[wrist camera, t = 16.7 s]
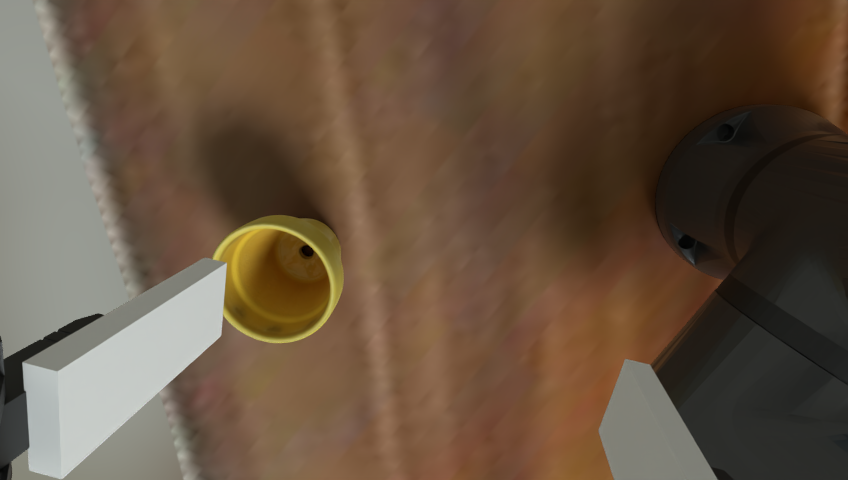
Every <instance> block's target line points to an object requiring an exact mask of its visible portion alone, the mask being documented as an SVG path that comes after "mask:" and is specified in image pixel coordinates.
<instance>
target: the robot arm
mask: <svg viewBox="0 0 848 480" xmlns="http://www.w3.org/2000/svg"><path fill="white" fill-rule="evenodd" d="M655 204H656V215H657V220H658V224H659V227H660V230H661V232H662V234H663V236H664V238H665V240H666V241H667V243H668V244H669V245H670V247H671V248H672V249H673V250H674V251H675V252H676V253H677V254H678V255H679V256H680V257H681V258H682V259H684V260H685V261H686V262H688V263H689V264H690V265H692V266H693V267H695V268H696V269H698V270H700V271H701V272H703V273H705V274H708V275H710V276H713V277H715V278H718V279H722V280H724V281H723V282H722V283H721V284H720V285H719V286H718V288H717V289H716V290H714V292H713V293H712V294H711V295H710V296H709V298H708V299H707V300H706V301H705V302H704V303H703V305H702V306H701V307H700V308H699V309H698V311H697V312H696V313H695V314H694V315H693V317H692V318H691V319H690V320H689V321H688V322H687V324H686V325H685V326H684V327H683V328H682V329H681V330H680V332H679V333H678V334H677V335H676V336H675V337H674V339H673V340H672V341H671V342H670V343H669V344H668V345H667V347H666V348H665V349H664V350H663V351H662V352H661V353H660V355H659V356H658V357H657V358H656V359H655V360H654V361H653V363H652V364H651V365H649V364H644V363H640V362H636V361H632V360H628V359H625V361H624V364H623V367H622V369H621V372H620V375H619V377H618V380H617V383H616V385H615V388H614V391H613V393H612V396H611V399H610V401H609V404H608V407H607V409H606V412H605V415H604V417H603V420H602V423H601V425H600V428H599V434H600V437H601V440H602V443H603V447H604V450H605V453H606V456H607V459H608V462H609V465H610V468H611V471H612V475H613V478H614V480H848V135H847V134H846V133H845V132H843V131H842V130H840V129H839V128H837V127H836V126H835V125H833V124H832V123H830V122H829V121H828V120H826V119H824V118H823V117H821V116H819V115H817V114H815V113H813V112H810V111H807V110H804V109H801V108H797V107H793V106H786V105H767V104H757V105H747V106H742V107H737V108H734V109H730V110H727V111H725V112H722V113H720V114H717V115H715V116H713V117H711V118H710V119H708V120H706V121H705V122H703V123H701V124H700V125H699V126H697V127H696V128H695V129H693V130H692V131H691V132H690V133H689V134H688V135H687V136H686V137H684V139H683V140H682V141H681V142H680V143H679V144H678V145H677V147H676V148H675V149H674V150H673V152H672V153H671V155H670V156H669V158H668V160H667V162H666V163H665V165H664V168H663V170H662V172H661V175H660V178H659V181H658V185H657V190H656V202H655ZM226 268H227V263H226V262H222V261H217V260H213V259H209V258H203V259H201V260H200V261H198V262H196V263H195V264H193V265H191V266H189V267H188V268H186V269H184V270H182V271H181V272H179V273H177V274H175V275H174V276H172V277H170V278H168V279H167V280H165V281H163V282H161V283H160V284H158V285H156V286H154V287H153V288H151V289H149V290H148V291H146V292H144V293H142V294H141V295H139V296H137V297H135V298H134V299H132V300H130V301H128V302H127V303H125V304H123V305H121V306H120V307H118V308H116V309H114V310H113V311H111V312H109V313H107V314H106V315H102V314H95V315H92V316H88V317H84V318H81V319H78V320H75V321H73V322H72V323H69V324H68V325H66V326H64V327H62V328H60V329H59V330H58V332H53V333H51V334H49V335H48V336H46V337H44V339H43V340H39V341H37V342H35V343H33V344H31V345H29V346H28V347H26V348H24V349H22V350H20V351H18V352H16V353H15V354H13V355H11V356H9V357H7V358H5V359H4V360H3V349H2V340H1V337H0V480H11V478H12V466H11V461H12V460H13V459H15V458H16V457H17V456H19V455H20V454H22V453H23V452H24V451H25V450H27V449H28V457H29V458H28V459H29V470H30V471H33V472H37V473H40V474H44V475H47V476H51V477H55V478H59V479H63V478H64V477H65V476H66V475H67V474H68V473H69V472H71V471H72V470H73V469H74V468H75V467H76V466H77V465H78V464H79V463H80V462H82V461H83V460H84V459H85V458H86V457H87V456H88V455H89V454H90V453H92V452H93V451H94V450H95V449H96V448H97V447H98V446H99V445H100V444H102V443H103V442H104V441H105V440H106V439H107V438H108V437H109V436H110V435H111V434H113V433H114V432H115V431H116V430H117V429H118V428H119V427H120V426H122V425H123V424H124V423H125V422H126V421H127V420H128V419H129V418H130V417H132V416H133V415H134V414H135V413H136V412H137V411H138V410H139V409H140V408H142V407H143V406H144V405H145V404H146V403H147V402H148V401H149V400H150V399H152V398H153V397H154V396H155V395H156V394H157V393H158V392H159V391H160V390H162V389H163V388H164V387H165V386H166V385H167V384H168V383H169V382H170V381H172V380H173V379H174V378H175V377H176V376H177V375H178V374H179V373H180V372H182V371H183V370H184V369H185V368H186V367H187V366H188V365H189V364H190V363H192V362H193V361H194V360H195V359H196V358H197V357H198V356H199V355H200V354H202V353H203V352H204V351H205V350H206V349H207V348H208V347H209V346H210V345H212V344H213V343H214V342H215V341H216V340H217V339H218V338H219V337H220V336H221V331H222V319H223V306H224V294H225V281H226Z"/></svg>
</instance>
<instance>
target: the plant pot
mask: <svg viewBox="0 0 848 480" xmlns="http://www.w3.org/2000/svg"><path fill="white" fill-rule="evenodd" d="M305 245H308V246H310V247H311V248H312V249H313V251H314V253H313V255H312V256H310V257H307V256H305V255H304V254H303V253H302V251H301V249H302V247H303V246H305ZM212 259H213V260H217V261H222V262H226V263H227V268H226V281H225V294H224V306H223V316H224V317H225V318H226V319H227V321H228V322H229V323H230V324H232V325H233V326H234V327H235V328H236V329H238V330H239V331H241V332H242V333H244V334H246V335H248V336H250V337H252V338H255V339H258V340H261V341H265V342H271V343H286V342H293V341H296V340H300V339H303V338H305V337H307V336H309V335H311V334H312V333H314V332H315V331H317V330H318V329H319V328H320V327H321V326H322V325H323V324H324V323H325V322H326V321H327V319H328V318H329V316H330V315H331V313H332V311H333V310H334V308H335V306H336V304H337V302H338V300H339V298H340V295H341V292H342V288H343V280H344V274H343V266H342V262H341V247H340V244H339V241H338V239H337V237H336V235H335V234H334V232H333V231H332V230H331V229H330V228H329V227H328V226H326V225H325V224H324V223H322V222H320V221H317V220H314V219H309V218H301V219H299V218H296V217H292V216H286V215H271V216H265V217H262V218H259V219H256V220H254V221H251V222H249V223H247V224H245V225H243V226H241V227H240V228H238V229H236V230H234V231H233V232H231V233H230V234H229V235H228V236H226V237H225V238H224V239H223V240H222V241H221V243H220V244H219V245H218V247H217V248H216V250H215V252H214V254H213V256H212Z"/></svg>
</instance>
